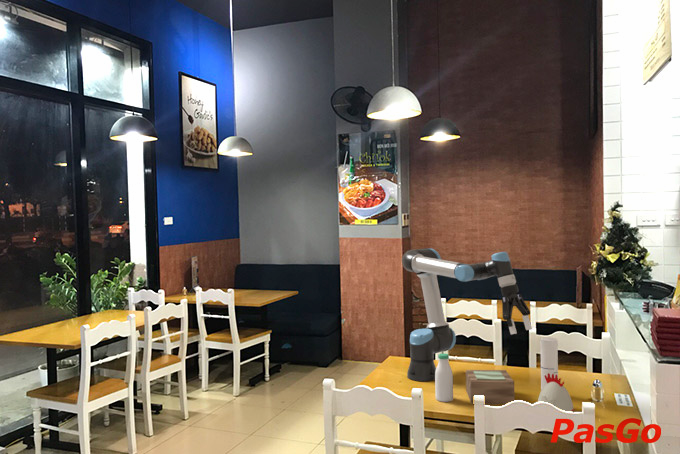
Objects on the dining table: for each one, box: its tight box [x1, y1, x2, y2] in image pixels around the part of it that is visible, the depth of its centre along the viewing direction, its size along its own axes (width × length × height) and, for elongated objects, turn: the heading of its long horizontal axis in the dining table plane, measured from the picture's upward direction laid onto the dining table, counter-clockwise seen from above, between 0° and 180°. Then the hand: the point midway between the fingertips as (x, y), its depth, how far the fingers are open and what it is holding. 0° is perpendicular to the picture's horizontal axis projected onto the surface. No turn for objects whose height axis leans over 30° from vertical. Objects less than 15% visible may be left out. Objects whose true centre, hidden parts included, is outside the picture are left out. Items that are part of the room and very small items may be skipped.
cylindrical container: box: [539, 336, 559, 391], centre depth 243 cm, size 7×7×25 cm
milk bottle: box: [434, 352, 454, 403], centre depth 241 cm, size 8×8×20 cm
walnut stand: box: [465, 369, 516, 405], centre depth 242 cm, size 18×18×10 cm
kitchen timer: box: [537, 373, 574, 411], centre depth 225 cm, size 14×14×15 cm
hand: (521, 331), depth 244 cm, fingers open, 13 cm apart
